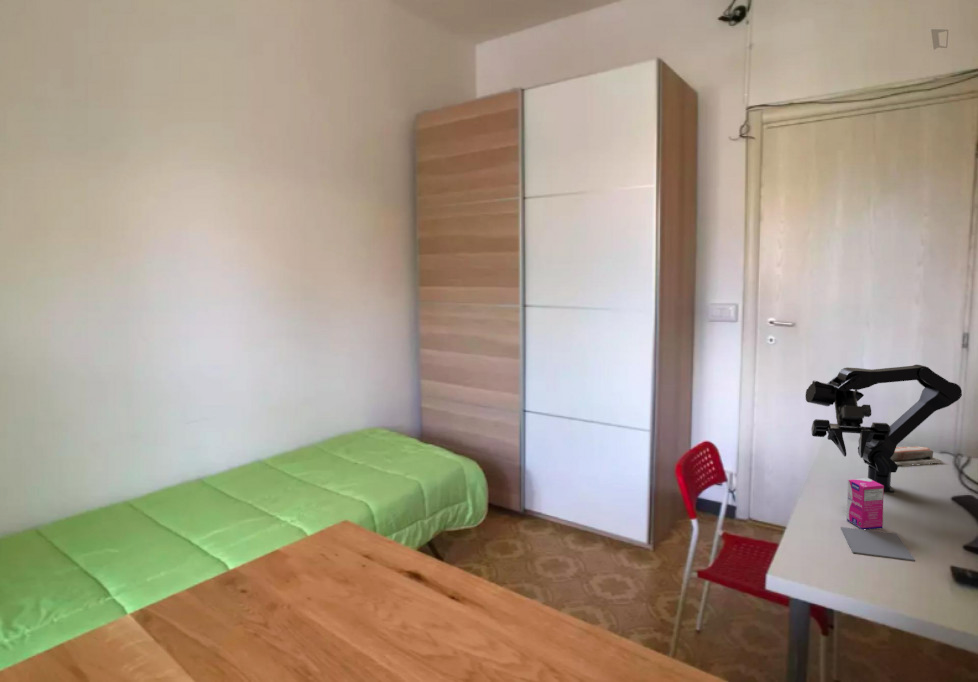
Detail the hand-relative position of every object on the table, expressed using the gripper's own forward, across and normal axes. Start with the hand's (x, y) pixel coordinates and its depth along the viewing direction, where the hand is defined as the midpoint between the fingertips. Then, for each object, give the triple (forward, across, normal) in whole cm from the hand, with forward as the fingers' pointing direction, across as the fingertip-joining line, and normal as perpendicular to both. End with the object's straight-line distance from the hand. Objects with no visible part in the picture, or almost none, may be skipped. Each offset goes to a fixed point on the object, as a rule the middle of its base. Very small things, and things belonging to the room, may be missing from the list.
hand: (853, 456), depth 160 cm
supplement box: (+20, 0, -1) cm, 20 cm away
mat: (+28, 0, -8) cm, 29 cm away
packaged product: (-23, +25, +43) cm, 54 cm away
